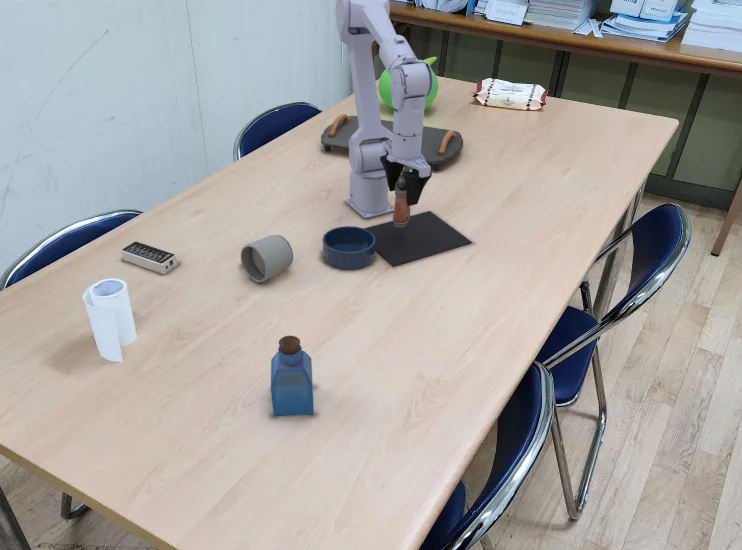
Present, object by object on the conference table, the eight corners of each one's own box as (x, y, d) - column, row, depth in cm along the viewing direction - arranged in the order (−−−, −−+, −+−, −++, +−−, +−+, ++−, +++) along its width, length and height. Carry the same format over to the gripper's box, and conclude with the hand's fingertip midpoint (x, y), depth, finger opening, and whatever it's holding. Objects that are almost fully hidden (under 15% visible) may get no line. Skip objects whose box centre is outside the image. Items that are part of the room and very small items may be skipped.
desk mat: (354, 232, 142) (354, 230, 141) (429, 212, 149) (429, 210, 149) (393, 266, 131) (393, 265, 131) (471, 243, 139) (471, 241, 139)
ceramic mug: (297, 271, 129) (295, 237, 124) (267, 288, 125) (264, 253, 120) (261, 253, 135) (257, 220, 129) (231, 269, 130) (226, 235, 125)
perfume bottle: (274, 388, 103) (268, 330, 95) (312, 387, 104) (310, 328, 96) (273, 416, 99) (267, 356, 91) (313, 414, 99) (311, 355, 91)
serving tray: (469, 143, 180) (472, 120, 176) (449, 176, 164) (451, 152, 160) (341, 123, 190) (341, 101, 186) (310, 152, 174) (309, 129, 170)
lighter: (406, 227, 132) (410, 182, 125) (390, 225, 133) (393, 180, 126) (412, 209, 138) (416, 165, 131) (396, 207, 138) (399, 163, 132)
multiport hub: (137, 250, 134) (135, 240, 133) (178, 264, 131) (176, 254, 129) (122, 260, 132) (120, 250, 130) (164, 274, 128) (161, 264, 126)
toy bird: (374, 116, 194) (376, 65, 184) (381, 98, 206) (383, 48, 197) (433, 121, 192) (438, 69, 182) (437, 102, 204) (442, 52, 195)
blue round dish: (314, 250, 136) (313, 233, 133) (358, 238, 140) (358, 221, 137) (338, 275, 129) (338, 257, 126) (384, 261, 133) (385, 244, 130)
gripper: (370, 121, 126) (368, 186, 135) (410, 148, 117) (405, 216, 126) (401, 116, 129) (397, 180, 138) (442, 141, 119) (435, 208, 129)
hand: (403, 196), depth 132 cm, fingers closed on lighter, 6 cm apart
